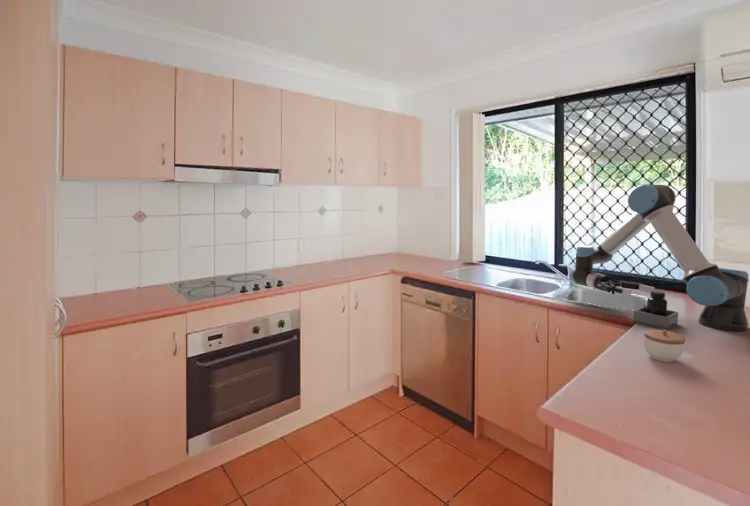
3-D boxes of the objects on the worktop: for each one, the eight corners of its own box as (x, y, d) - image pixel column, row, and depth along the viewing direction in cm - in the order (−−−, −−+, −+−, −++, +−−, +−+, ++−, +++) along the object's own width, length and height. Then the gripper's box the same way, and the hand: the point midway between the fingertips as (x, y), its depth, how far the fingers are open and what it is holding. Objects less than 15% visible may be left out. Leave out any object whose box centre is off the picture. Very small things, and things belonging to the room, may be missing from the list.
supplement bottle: (646, 317, 171) (649, 289, 169) (666, 320, 167) (669, 291, 165) (644, 321, 166) (646, 292, 164) (664, 324, 162) (667, 294, 160)
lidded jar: (642, 360, 129) (645, 332, 128) (641, 349, 138) (644, 322, 137) (684, 367, 123) (688, 338, 122) (681, 356, 132) (684, 328, 131)
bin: (677, 323, 165) (678, 312, 165) (667, 329, 158) (668, 317, 157) (643, 317, 175) (644, 305, 174) (633, 322, 167) (634, 310, 167)
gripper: (618, 287, 195) (662, 298, 175) (578, 291, 187) (619, 303, 167) (620, 272, 194) (664, 281, 174) (579, 275, 186) (620, 285, 166)
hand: (642, 291), depth 171 cm, fingers open, 13 cm apart
